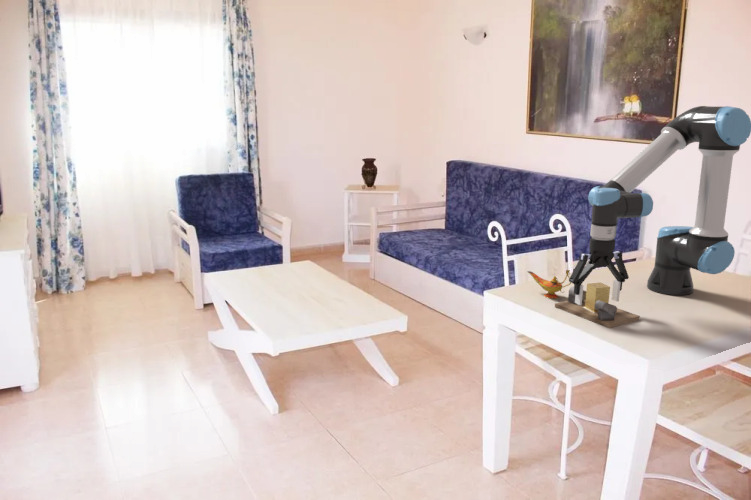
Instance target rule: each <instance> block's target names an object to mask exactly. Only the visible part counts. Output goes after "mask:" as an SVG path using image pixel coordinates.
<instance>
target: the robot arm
mask: <svg viewBox="0 0 751 500" xmlns="http://www.w3.org/2000/svg"><path fill="white" fill-rule="evenodd" d="M750 135H751V118H750V116H749V114H747V111H745V110H744V109H742V108H740V107H735V106H727V105H726V106H709V105H708V106H706V105H701V106H700V105H699V106H695V107H692V108H689V109H688V110H686V111H684V112H683V113H681V114H679V115H678V116H676V117H675V118H673V119H672V120H671V121H669V122H668V123H667V124H666V125H665V126H664V127H663V128H662V129H661V130H660V134H659V135H658V136H657V138H655V139H654V140H653V141H652V142H651V143H650V144H649V145H647V146H646V147H645V148H644V149H643V150H642V151H641V152H640V153H639V154H638V155H637V156H635V157H634V158H633V159H632V160H631V161H629V162H628V163H627V165H625V166H624V167H623V168H622V169H621V170H620V171H619V172H618V173H617V174H615V175H614V176H613V177H612V178H611V179H610V180H608V182H606V183H605V185H598V186H594V187H593V188H591V189H590V191H589V192H588V196H587V197H588V199H587V200H588V203H589V205H590V206H592V210H591V211H592V212H591V224H590V231H589V232H590V234H589V235H590V238H589V248H588V249H589V253H588V254H587V253H582V252H581V253H580V254H579V259H578V261H577V264H576V265H575V267H574V269H573V271H572V273H571V274H570V276H569V277H570V279H569V278H568V282H569V283H570V282H571V284H573V287H574V294H575V303H576V304H578V305H582V296H583V290H584V285H583V283H584V282H585V280H586V279H587V278H588V277H589V276H590V274H591V273H592V272H593V270H596V268H602V267H603V268H608V270H609V271H610V273H611V274H612V275H613V276H614V278H615V279H613V280H612V291H611V292H612V293H611V300H613V301H614V302H616V303H618V302H619V301H620V293H621V291H622V289H623V283H625V282H626V280H628V279H630V278H629V274H628V271H627V268H626V266H625V262H624V260H623V252H621V251H619V250H615V249H616V239H615V238H616V236H617V228H618V220H619V219H628V218H638V219H639V218H643V217H647V216H649V215H650V214H651V213H652V212H653V209H654V200H653V198H652V195H650V194H649V193H647V192H646V193H645V192H643V193H642V192H637V193H636V192H635V193H634V192H633V191H634V190H635V189H636V188H637V187H638V186H639V185H640V184H641V183H643V182H645V180H646V179H647V178H649V176H650V175H652V174H653V173H654V172H655V171H656V170H657V169H658V168H659V167H660V166H662V165H663V164H664V163H665V162H666V161H668V159H669V158H671V156H673V155H674V154H675V153H676V152H677V151H679V150H680V151H682V150H684V149H685V148H687V146H689V145H690V144H692V143H698V147H697V148H698V151H700V153H701V154H702V161H701V169H700V176H699V177H700V178H699V186H698V195H697V204H696V212H695V221H694V226H688V225H687V226H685V225H684V226H683V225H681V226H680V225H679V226H678V225H672V226H671V225H670V226H663V227H661V228H660V229H659V231H658V234H657V237H656V248H655V258H654V267H653V269H652V271H651V273H650V275H649V277H648V280H647V284H646V287H647V288H648V290H651V291H653V292H656V293H660V294H664V295H670V296H671V295H672V296H685V295H691V294H693V292H694V281H693V278H692V273H691V269H692V270H696V271H699V272H700V273H703V274H709V275H717V274H721V273H722V272H724V271H725V270H727V268H729V267H730V266H731V264H732V263H733V261H734V259H735V247H734V246H733V244H732V243H730V242H729V239H728V238H729V233H728V232H727V230H726V229H725V222H726V213H727V207H728V198H729V189H730V183H731V177H732V176H731V174H732V167H733V158H734V155H735V154H737V153H738V152H739V151H740V149H741V145H743V144H744V143H746V142H747V141H748V139H749V137H750ZM632 192H633V193H632ZM613 259H614V262H613V261H612V260H613ZM615 265H616V266H615Z"/></svg>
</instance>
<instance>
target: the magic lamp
mask: <svg viewBox="0 0 751 500" xmlns="http://www.w3.org/2000/svg"><path fill="white" fill-rule="evenodd" d="M570 271H571V270H570V269H567V270H566V271H565V274H566V275H565V277H564V280H563V281H561V282H560V281H559V279H558V277H556V276H553V278H551V280H546V279H544V278H541V277H540V276H539V275H538V274H536V273H535V272H533V271H530V270H529V271H527V273H528V274H529V275H531V277H532V279H534V281H535V282H536V283H537V284H538V286H540V287H541V288H542V289H544V291H546V292H547V293H545V294H543V297H544V296H545V298H547V297H548V298H547V299H558V298H559V295H558V294H556V293H557V292H561V293H563V294H564V293H565V291H563V292H562V289H563V288H565V287H568V286H570V285H571V284H572V283H571V282H569V283H568V284H565V283H564V282H565V281H566V280H567V277H568V280H569V279H570V277H571V276H570V275H571V272H570ZM563 284H565V285H563Z"/></svg>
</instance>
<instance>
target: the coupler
mask: <svg viewBox="0 0 751 500" xmlns="http://www.w3.org/2000/svg"><path fill="white" fill-rule="evenodd" d="M610 289H611V286H609V285H608V284H607V285H606V284H605V283H603V282H591V283H590V282H589V283H586V290H585V291H586V301H585V307H586V308H587V309H589V310H591V311H593V312H598V310H596V309H595V307H594V306H595V303H596V301H598V300H600V301H602V302H605V303H608V304H610V301H609V300H610V294H611V293H610V292H611V290H610Z"/></svg>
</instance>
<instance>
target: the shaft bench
mask: <svg viewBox="0 0 751 500" xmlns="http://www.w3.org/2000/svg"><path fill="white" fill-rule="evenodd" d="M567 298H568V299H567V300H564V301H560V302H556V303H554V307H555V308H557V309H558V310H561V311H564V312H567V313H570V314H573V315H575V316H577V317H580V318H582V319H584V320H587V321H591V322H593V323H595V324H597V325H600V326H603V327H606V328H609V329H611V328H614V327H617V326H621V325H625V324H629V323H632V322H636V321H639V320H640V315H638V314H635V313H632V312H629V311H627V310H624V309H621V308H618V307H617V306H616V305H614V304H611V303H605V302H602V301H600V300H598V301H596V303H595V306H594V307H595V309H596V310H598V312H593V311H591V310H589V309H587V308H586V307H585V301H586V290H584V289H583V296H582V305H578V304H576V303H575V294H574V286H571V287H569V290H568V297H567Z"/></svg>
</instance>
